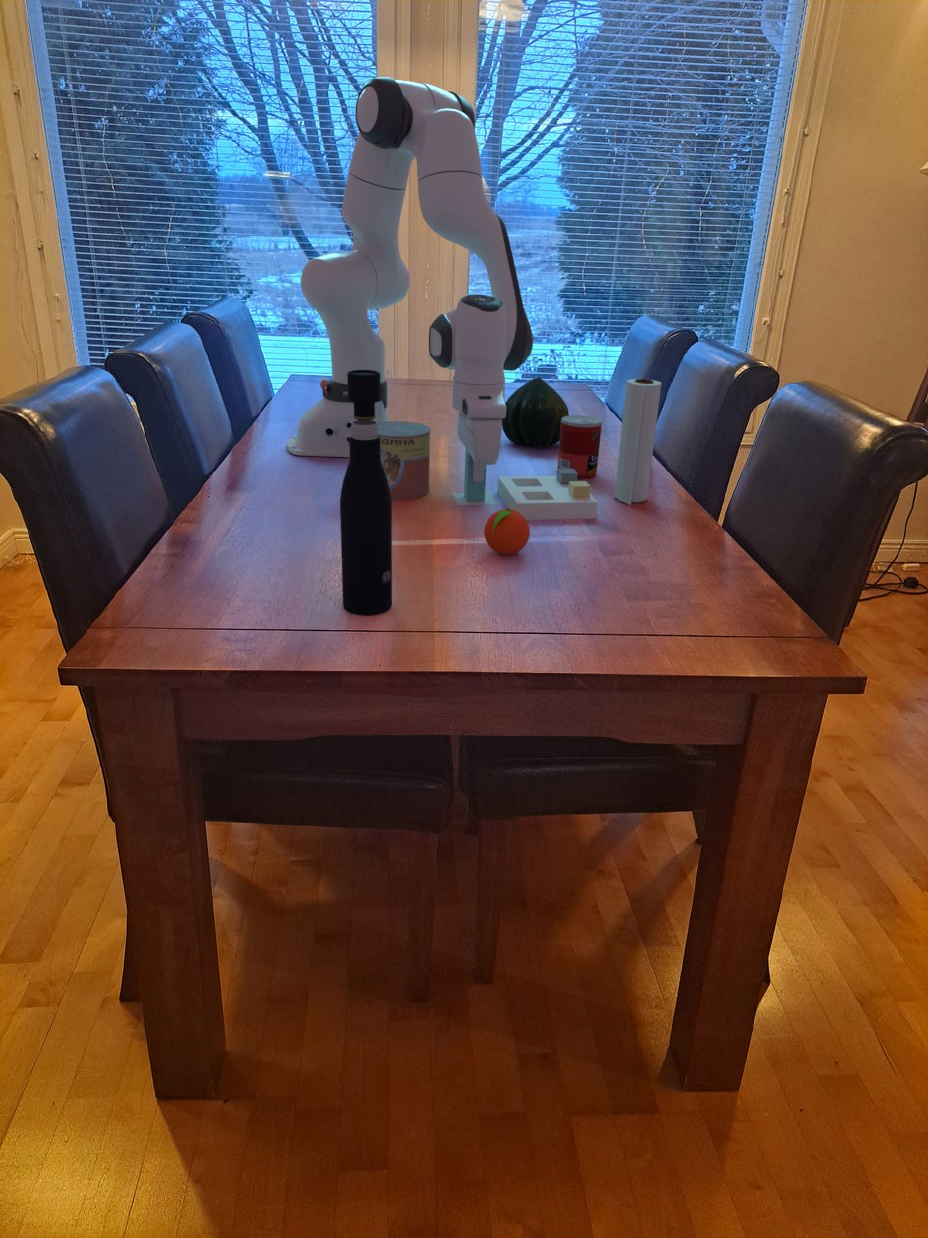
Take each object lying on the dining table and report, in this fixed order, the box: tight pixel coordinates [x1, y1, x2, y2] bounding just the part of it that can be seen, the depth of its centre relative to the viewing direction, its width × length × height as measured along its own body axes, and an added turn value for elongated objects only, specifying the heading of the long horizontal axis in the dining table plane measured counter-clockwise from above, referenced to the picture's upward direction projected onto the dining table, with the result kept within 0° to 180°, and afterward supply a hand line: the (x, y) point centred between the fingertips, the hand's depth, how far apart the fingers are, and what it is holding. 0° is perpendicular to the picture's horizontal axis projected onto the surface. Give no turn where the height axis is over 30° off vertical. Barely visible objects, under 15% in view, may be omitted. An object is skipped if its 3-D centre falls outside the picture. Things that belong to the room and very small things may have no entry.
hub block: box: [496, 468, 599, 521], centre depth 155 cm, size 14×16×6 cm
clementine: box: [483, 508, 531, 556], centre depth 133 cm, size 8×7×7 cm
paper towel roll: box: [614, 378, 662, 506], centre depth 158 cm, size 7×6×21 cm
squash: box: [501, 376, 570, 449], centre depth 196 cm, size 14×15×15 cm
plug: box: [463, 448, 487, 502], centre depth 156 cm, size 3×3×10 cm
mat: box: [451, 492, 498, 507], centre depth 158 cm, size 7×7×1 cm
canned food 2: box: [556, 414, 603, 480], centre depth 175 cm, size 8×8×11 cm
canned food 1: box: [377, 420, 431, 501], centre depth 159 cm, size 11×11×12 cm
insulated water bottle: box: [339, 370, 393, 616], centre depth 110 cm, size 6×6×30 cm
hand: (475, 476), depth 156 cm, fingers closed on plug, 3 cm apart
